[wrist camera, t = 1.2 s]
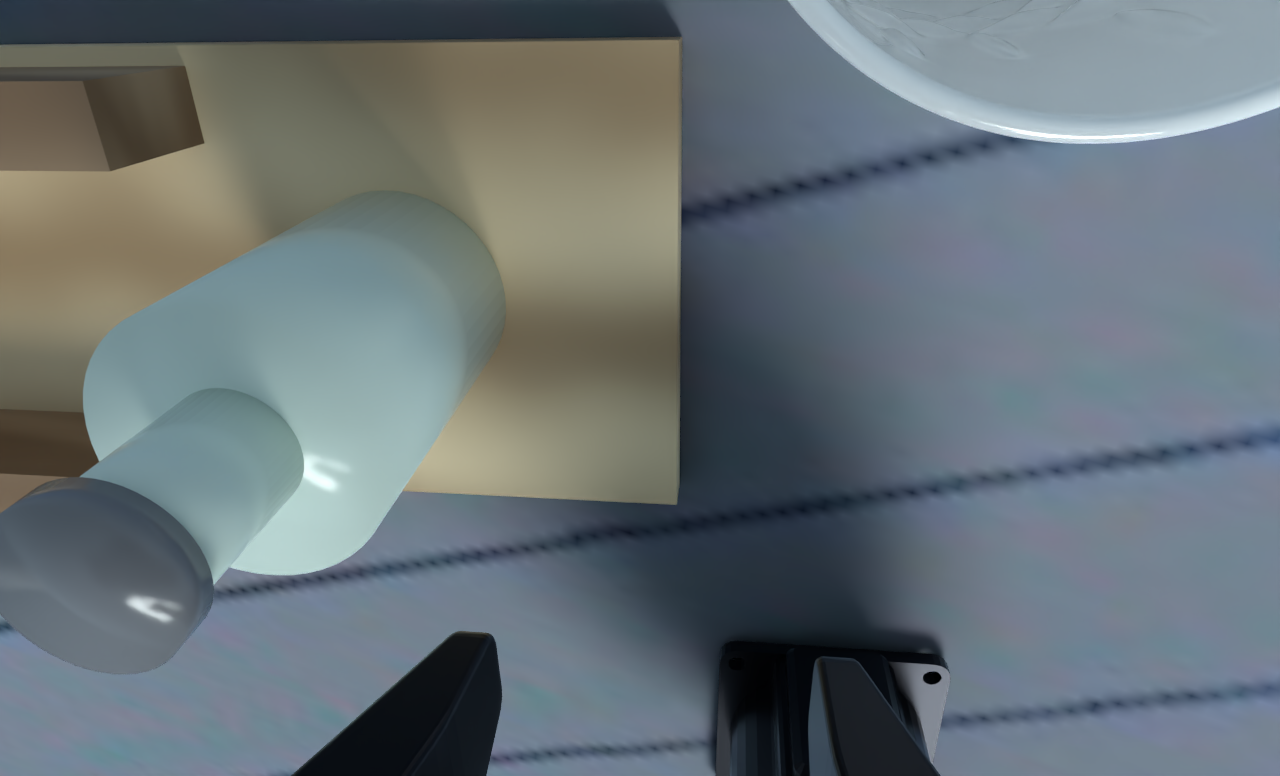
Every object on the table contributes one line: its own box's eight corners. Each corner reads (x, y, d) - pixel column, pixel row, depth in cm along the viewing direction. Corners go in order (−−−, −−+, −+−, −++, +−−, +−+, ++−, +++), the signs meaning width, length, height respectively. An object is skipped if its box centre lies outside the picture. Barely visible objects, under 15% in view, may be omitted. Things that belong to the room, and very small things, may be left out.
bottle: (514, 395, 20) (317, 754, 11) (321, 388, 20) (-27, 724, 11) (495, 190, 18) (223, 422, 8) (278, 189, 18) (-202, 404, 9)
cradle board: (679, 483, 22) (665, 597, 18) (-89, 446, 24) (-255, 538, 20) (681, 36, 17) (663, 53, 13) (-284, 47, 19) (-554, 65, 15)
